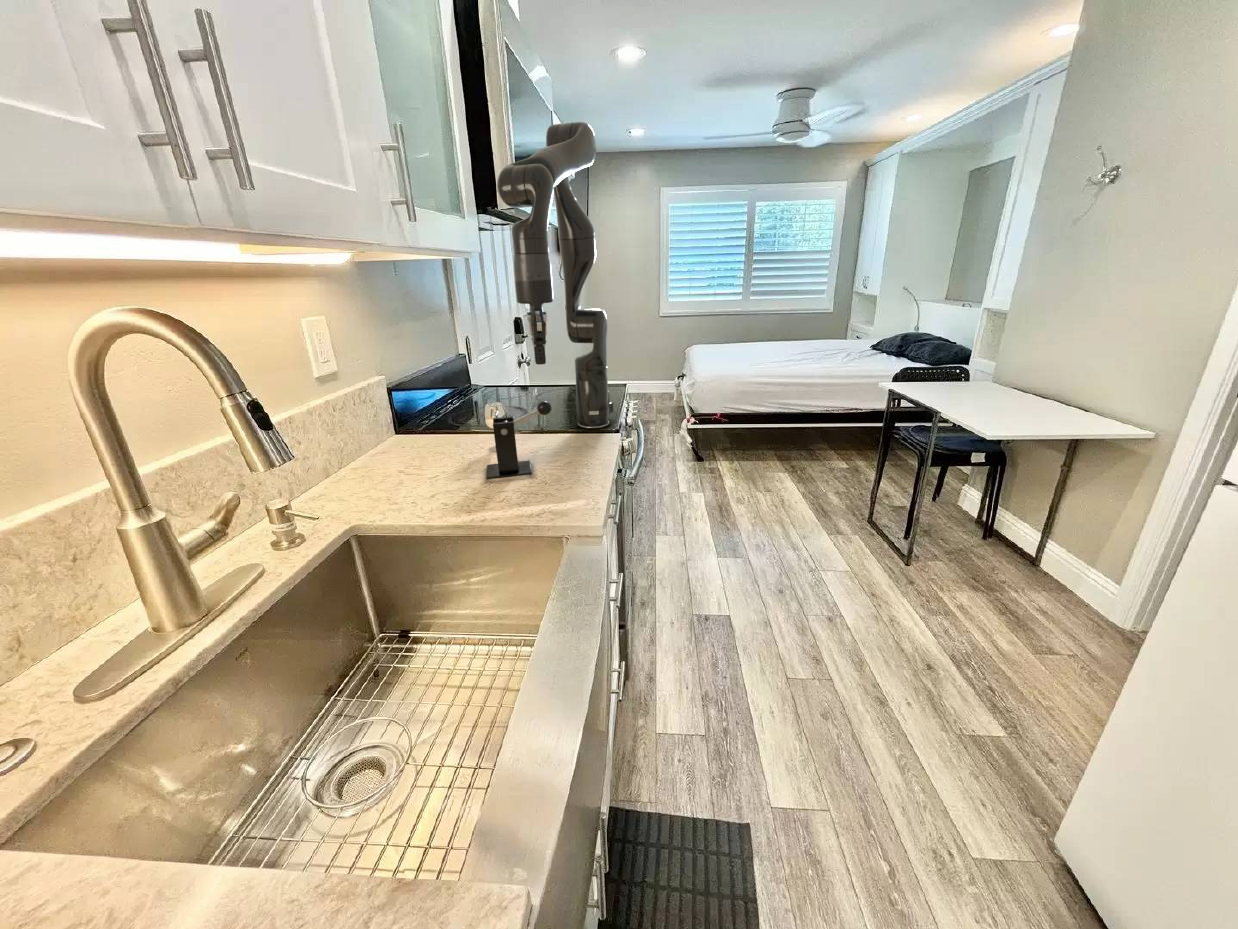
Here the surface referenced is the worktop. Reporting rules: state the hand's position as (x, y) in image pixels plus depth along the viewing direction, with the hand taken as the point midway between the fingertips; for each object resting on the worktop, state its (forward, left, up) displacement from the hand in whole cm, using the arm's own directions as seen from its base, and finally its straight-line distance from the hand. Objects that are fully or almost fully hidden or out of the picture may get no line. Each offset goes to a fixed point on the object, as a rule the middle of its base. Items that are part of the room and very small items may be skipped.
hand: (540, 363), depth 106 cm
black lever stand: (+7, -7, -25) cm, 26 cm away
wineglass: (-4, -21, -25) cm, 33 cm away
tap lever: (+3, -3, -13) cm, 14 cm away
